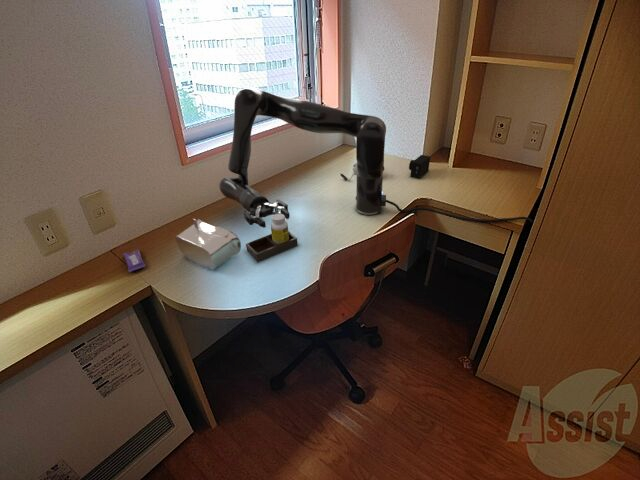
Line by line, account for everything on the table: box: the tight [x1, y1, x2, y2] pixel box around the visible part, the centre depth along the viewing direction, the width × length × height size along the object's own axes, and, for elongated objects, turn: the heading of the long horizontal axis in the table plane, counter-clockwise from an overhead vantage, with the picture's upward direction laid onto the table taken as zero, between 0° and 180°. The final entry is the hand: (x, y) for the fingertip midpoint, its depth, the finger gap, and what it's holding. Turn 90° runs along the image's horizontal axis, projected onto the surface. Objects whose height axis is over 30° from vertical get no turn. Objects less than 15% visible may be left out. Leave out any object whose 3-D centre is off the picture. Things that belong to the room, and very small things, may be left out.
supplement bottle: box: [270, 214, 290, 245], centre depth 114 cm, size 5×5×10 cm
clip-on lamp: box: [339, 162, 385, 182], centre depth 158 cm, size 12×6×18 cm
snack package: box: [122, 248, 147, 273], centre depth 111 cm, size 12×2×5 cm
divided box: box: [245, 230, 299, 263], centre depth 114 cm, size 8×14×3 cm, turn 125°
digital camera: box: [408, 154, 431, 180], centre depth 157 cm, size 10×5×7 cm, turn 144°
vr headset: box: [175, 217, 242, 271], centre depth 109 cm, size 18×11×14 cm, turn 55°
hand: (276, 220), depth 113 cm, fingers open, 8 cm apart
